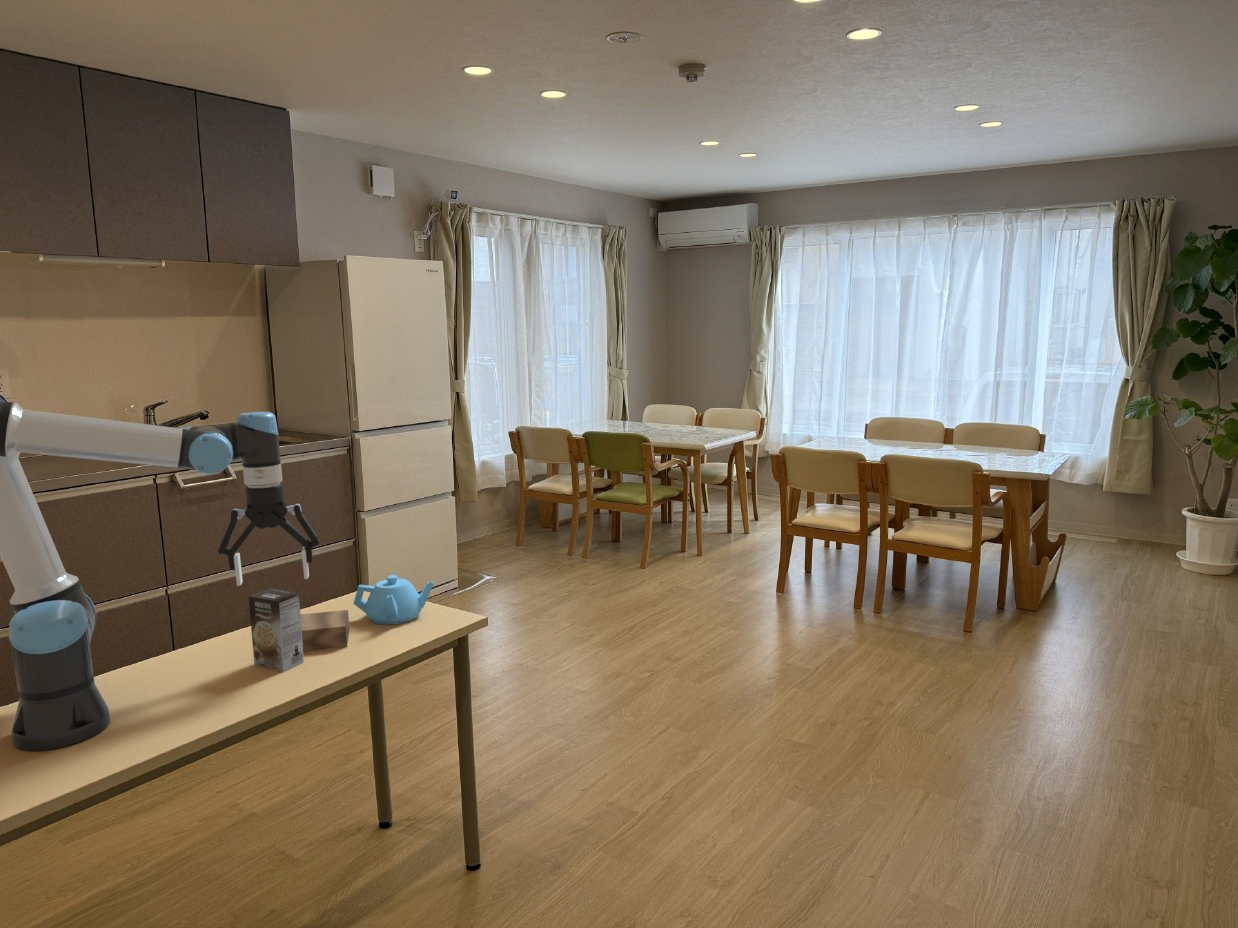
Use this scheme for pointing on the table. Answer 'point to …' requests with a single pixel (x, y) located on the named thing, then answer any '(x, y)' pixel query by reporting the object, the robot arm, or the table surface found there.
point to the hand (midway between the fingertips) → (273, 580)
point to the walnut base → (325, 630)
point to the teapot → (392, 600)
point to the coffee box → (276, 629)
